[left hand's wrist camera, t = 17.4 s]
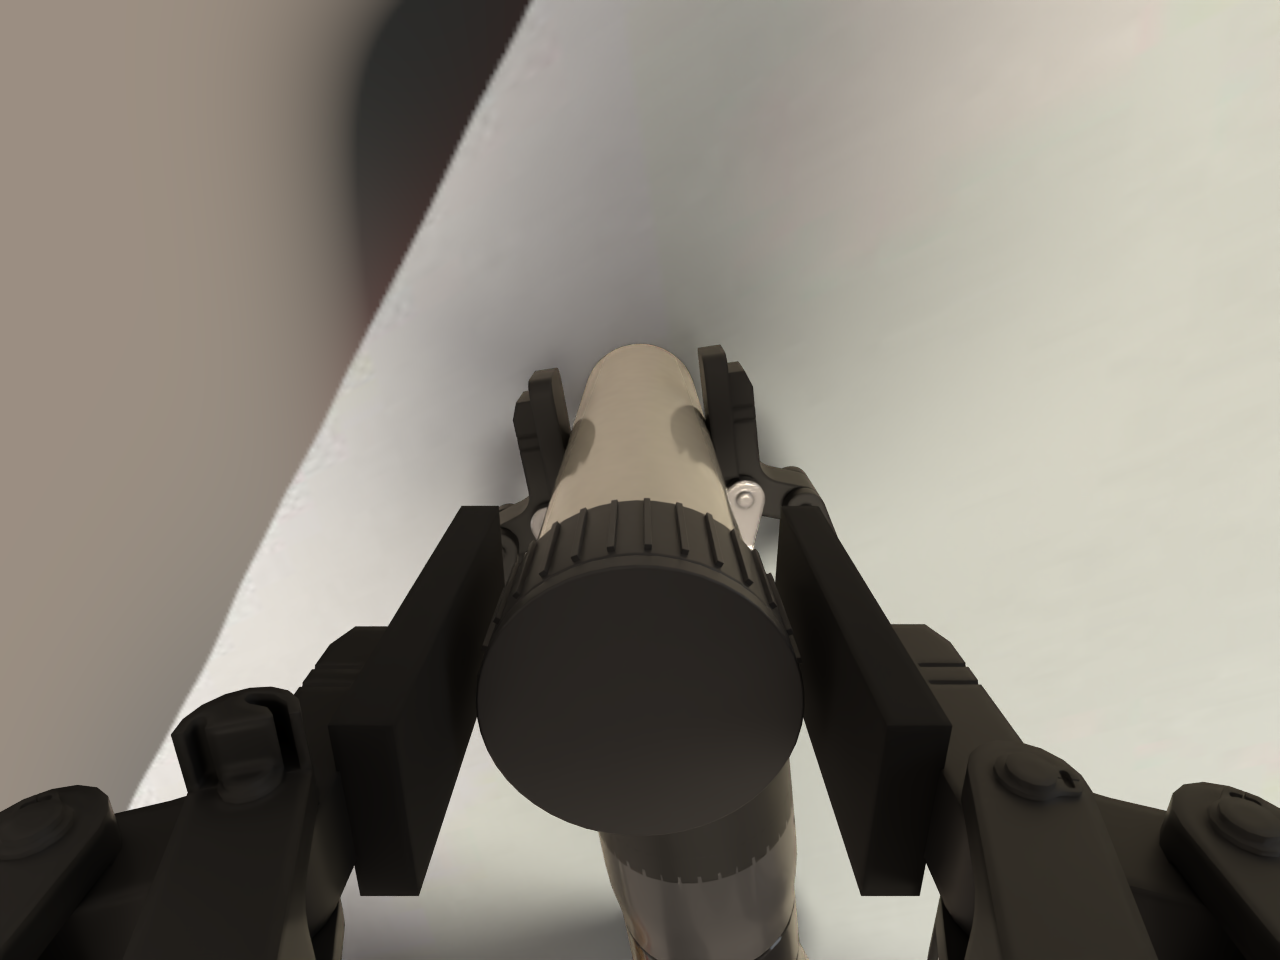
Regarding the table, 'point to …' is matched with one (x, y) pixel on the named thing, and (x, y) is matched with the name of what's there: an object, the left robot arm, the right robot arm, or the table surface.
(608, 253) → the table surface
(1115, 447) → the table surface
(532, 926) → the table surface
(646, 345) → the cream cylindrical bottle
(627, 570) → the lid
